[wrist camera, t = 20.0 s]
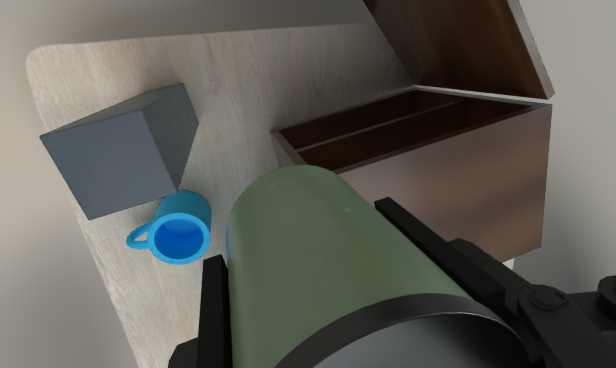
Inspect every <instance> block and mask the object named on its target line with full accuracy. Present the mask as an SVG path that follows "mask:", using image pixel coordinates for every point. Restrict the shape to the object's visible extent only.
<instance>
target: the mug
mask: <svg viewBox="0 0 616 368" xmlns="http://www.w3.org/2000/svg"><path fill="white" fill-rule="evenodd" d="M210 230H211V210H210V206H209V204H208V203H207V201H206V200H205V199H204V198H203V197H202V196H200V195H198V194H196V193H194V192H190V191H178V193H176V194H173V195H169V196H167V197H165V198H164V199H163V200H162V202H161V203H160V205H159V207H158V209H157V212H156V214H155V216H154V219H153V221H151V222H149V223H146V224H144V225H142V226H140V227H138V228H136V229H135V230H134V231H132V232H131V233H130V234H129V235H128V236H127V240H126V243H127V245H128V246H130V247H131V248H134V249H148V248H149V249H150V250H151V252H152V253H153V255H154V256H156V257H157V258H158V259H160V260H161V261H164V262H166V263H169V264H177V265H180V264H187V263H190V262H193V261H195V260H197V259H198V258H200V257H201V256H202V255H203V254H204V253H205V251H206V250H207V248H208V246H209V242H210ZM147 231H148V237H147V240H146V241H134V240H135V239H136V238H137V237H139V236H140V235H141V234H143V233H145V232H147Z"/></svg>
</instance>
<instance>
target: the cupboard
mask: <svg viewBox="0 0 616 368" xmlns="http://www.w3.org/2000/svg"><path fill="white" fill-rule="evenodd" d="M551 114H552V104H545V103H537V102H529V101H520V100H513V99H505V98H497V97H489V96H481V95H473V94H465V93H457V92H449V91H441V90H433V89H425V88H418V87H417V88H414V89H410V90H407V91H404V92H400V93H397V94H393V95H390V96H387V97H383V98H380V99H377V100H373V101H370V102H366V103H363V104H360V105H356V106H353V107H349V108H346V109H343V110H339V111H336V112H332V113H329V114H326V115H322V116H319V117H315V118H312V119H309V120H305V121H302V122H298V123H295V124H292V125H288V126H285V127H281V128H278V129H275V130H271V131H270V135H271V138H272V142H273V145H274V149H275V152H276V156H277V159H278V163H279V166H280V168H283V167H288V166H294V165H311V166H318V167H321V168H324V169H327V170H329V171H332V172H334V173H335V174H337V175H339V176H340V177H341V178H343V179H344V180H345V181H346V182H347V183H348V184H349V185H350V186H352V187H353V188H354V189H355V190H356V191H357V192H358V193H359V194H360V195H361V196H362V197H363V198H365V199H366V200H367V201H368V202H369V203H370V204H371V205H372V206H373V207H374V208H375V206H374V201H377V200H380V199H383V198H386V197H390V198H392V199H393V200H394V201H396V202H397V203H398V204H399V205H401V206H402V207H403V208H404V209H406V210H407V211H408V212H410V213H411V214H412V215H413V216H415V217H416V218H417V219H419V220H420V221H421V222H422V223H424V224H425V225H426V226H427V227H429V228H430V229H431V230H433V231H434V232H435V233H436V234H438V235H439V236H440V237H442V238H443V239H444V240H445V241H447V242H449V241H451V240H454V239H457V238H461V239H463V240H466V241H469V242H472V243H474V244H475V245H477V246H478V247H479V248H481V249H482V250H484V252H485V253H486V252H487V253H488V254H489V255H491V256H492V257H493V258H494V259H496V260H498V261H499V262H501V263H503V262H505V261H508V260H510V259H513V258H515V257H517V256H520V255H522V254H525V253H527V252H530V251H532V250H535V249H537V248H540V247H541V240H542V239H541V238H542V227H543V214H544V203H545V190H546V178H547V165H548V152H549V141H550V128H551V116H552V115H551Z"/></svg>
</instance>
